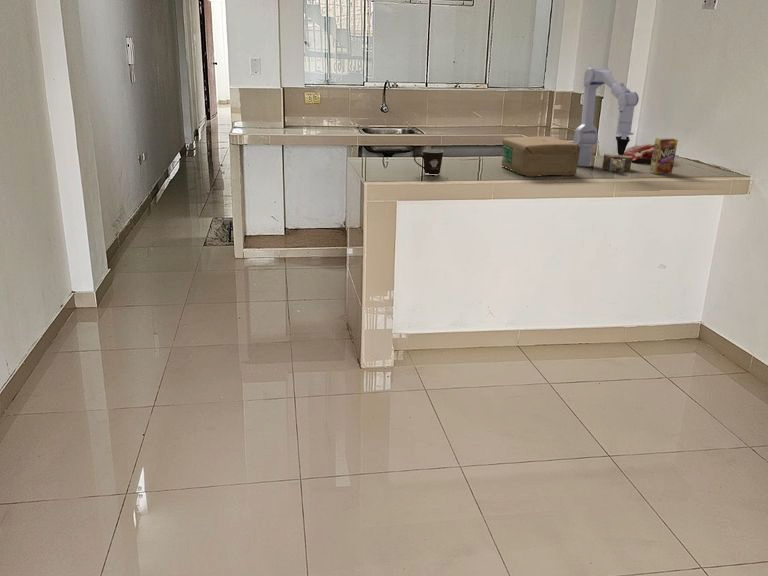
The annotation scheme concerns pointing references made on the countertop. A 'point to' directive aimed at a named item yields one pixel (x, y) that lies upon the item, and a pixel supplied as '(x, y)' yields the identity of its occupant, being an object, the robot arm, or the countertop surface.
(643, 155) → the meat
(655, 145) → the candy box
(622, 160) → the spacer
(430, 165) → the coffee mug
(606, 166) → the bearing block
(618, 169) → the shaft
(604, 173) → the countertop surface
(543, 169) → the paper package
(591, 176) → the countertop surface
